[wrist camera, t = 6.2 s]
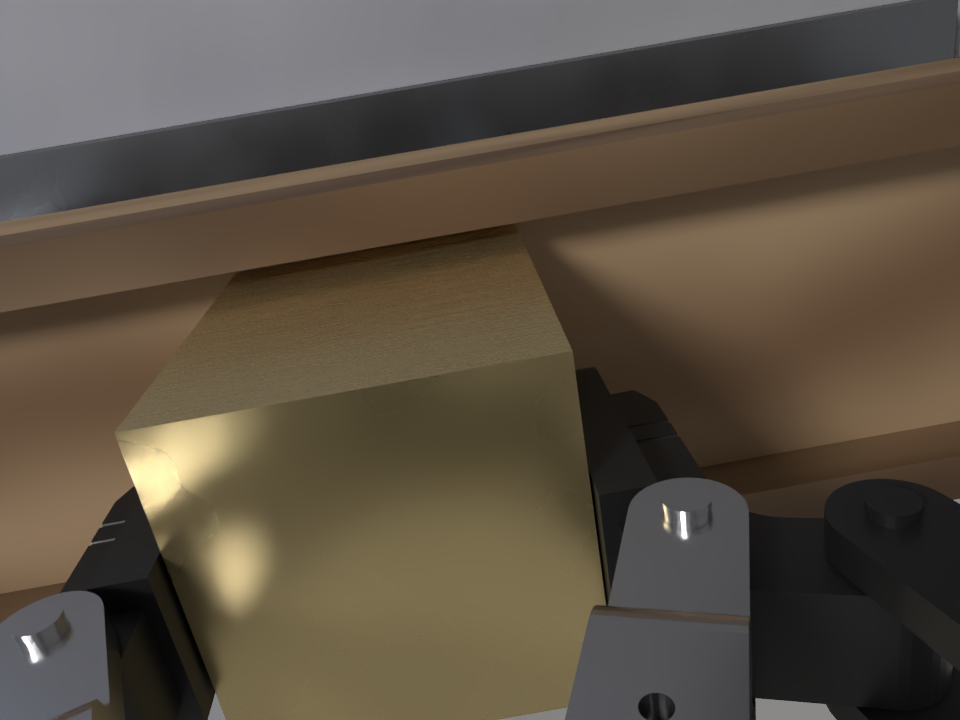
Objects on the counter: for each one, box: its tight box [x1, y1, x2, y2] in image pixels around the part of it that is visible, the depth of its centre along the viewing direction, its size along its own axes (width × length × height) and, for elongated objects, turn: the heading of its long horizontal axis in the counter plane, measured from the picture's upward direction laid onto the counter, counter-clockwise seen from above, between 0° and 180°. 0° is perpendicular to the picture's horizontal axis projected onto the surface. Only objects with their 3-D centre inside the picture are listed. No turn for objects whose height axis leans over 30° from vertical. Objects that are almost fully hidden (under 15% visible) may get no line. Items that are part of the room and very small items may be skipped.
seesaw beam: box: [0, 57, 960, 624], centre depth 16 cm, size 8×30×3 cm, turn 99°
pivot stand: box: [0, 0, 958, 222], centre depth 22 cm, size 9×30×10 cm, turn 99°
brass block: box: [114, 224, 606, 720], centre depth 12 cm, size 5×5×6 cm
